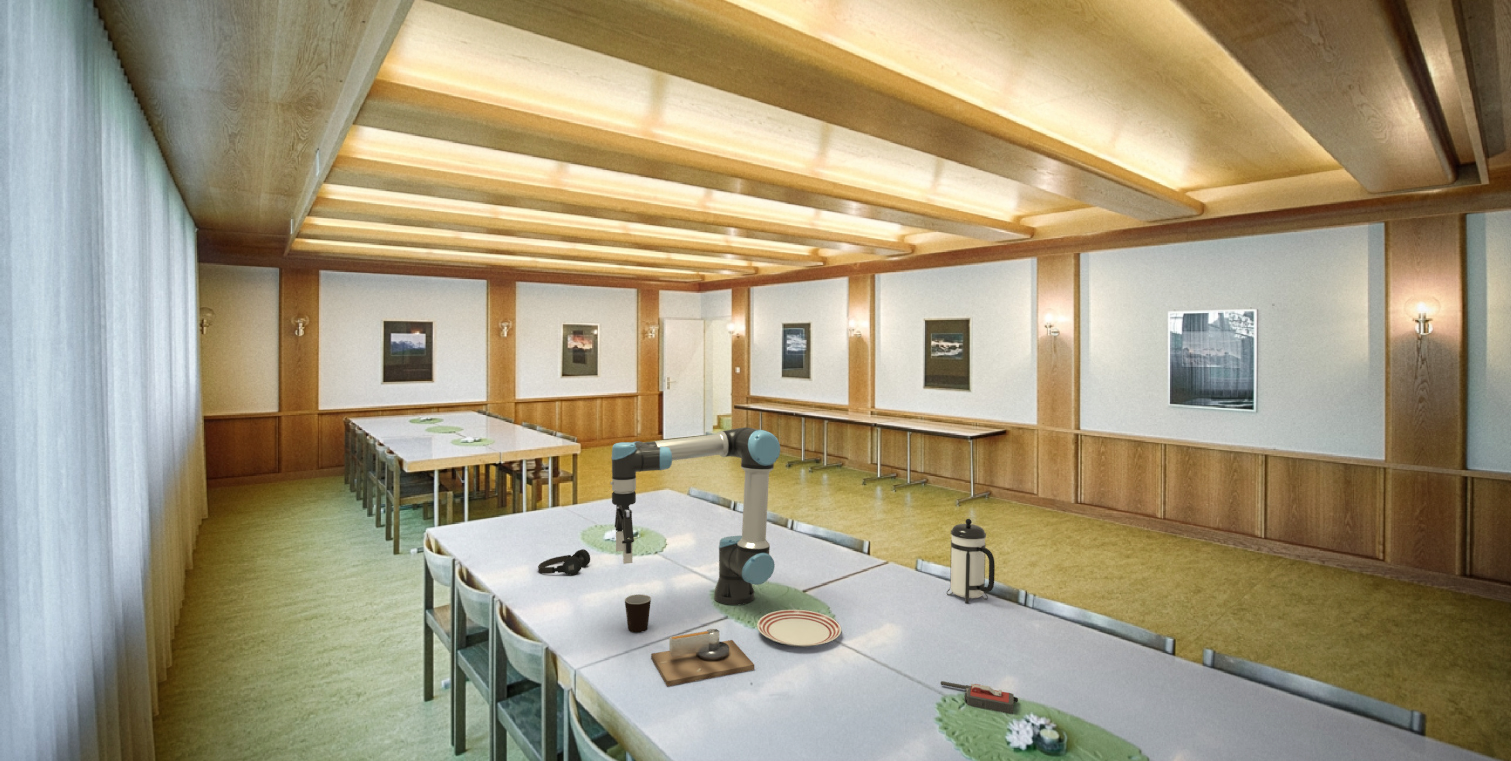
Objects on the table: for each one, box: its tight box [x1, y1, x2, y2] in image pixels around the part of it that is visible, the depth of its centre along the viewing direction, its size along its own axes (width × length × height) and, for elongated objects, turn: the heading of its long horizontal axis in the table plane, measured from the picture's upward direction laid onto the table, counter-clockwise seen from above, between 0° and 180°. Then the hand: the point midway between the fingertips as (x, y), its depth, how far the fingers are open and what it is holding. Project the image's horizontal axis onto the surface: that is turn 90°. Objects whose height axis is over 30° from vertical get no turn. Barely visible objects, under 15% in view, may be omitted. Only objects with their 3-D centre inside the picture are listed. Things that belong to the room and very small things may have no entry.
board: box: [650, 639, 755, 687], centre depth 194 cm, size 26×18×2 cm
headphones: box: [537, 549, 591, 576], centre depth 279 cm, size 17×8×20 cm
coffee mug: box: [624, 594, 652, 634], centre depth 220 cm, size 12×9×10 cm
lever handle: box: [668, 628, 729, 661], centre depth 196 cm, size 18×10×7 cm, turn 113°
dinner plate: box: [756, 609, 842, 648], centre depth 216 cm, size 27×27×3 cm
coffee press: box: [946, 518, 996, 604], centre depth 249 cm, size 17×16×30 cm
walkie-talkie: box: [940, 680, 1019, 715], centre depth 176 cm, size 9×4×20 cm
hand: (623, 556), depth 212 cm, fingers open, 13 cm apart
